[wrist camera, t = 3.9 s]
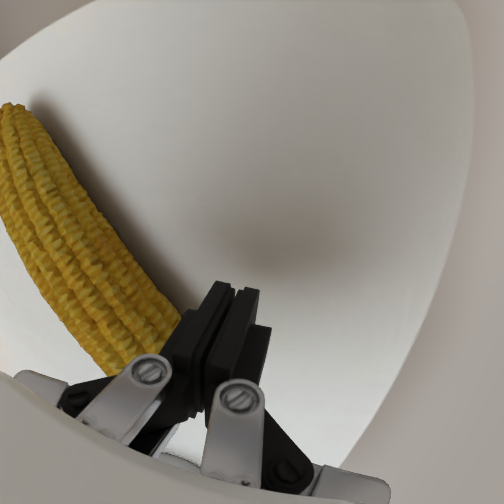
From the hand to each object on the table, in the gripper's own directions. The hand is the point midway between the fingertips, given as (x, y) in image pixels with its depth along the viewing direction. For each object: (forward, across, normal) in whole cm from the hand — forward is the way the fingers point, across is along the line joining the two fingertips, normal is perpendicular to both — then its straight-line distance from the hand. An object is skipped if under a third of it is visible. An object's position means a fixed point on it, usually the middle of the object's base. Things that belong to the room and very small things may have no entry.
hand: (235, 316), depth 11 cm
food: (+4, +10, 0) cm, 11 cm away
